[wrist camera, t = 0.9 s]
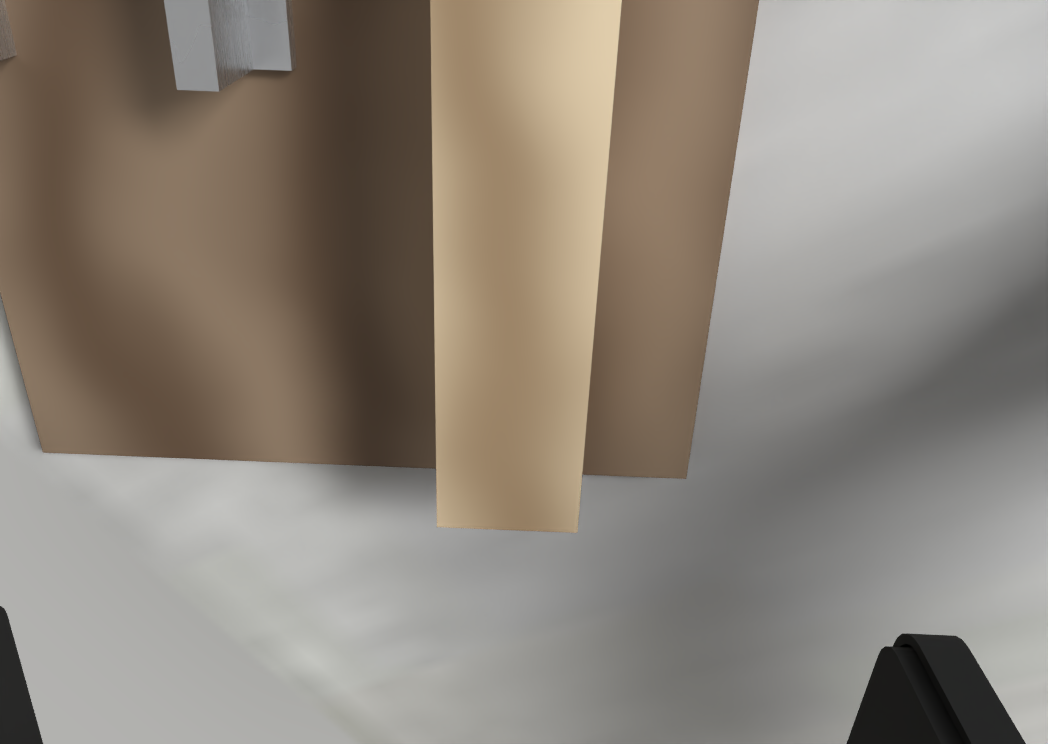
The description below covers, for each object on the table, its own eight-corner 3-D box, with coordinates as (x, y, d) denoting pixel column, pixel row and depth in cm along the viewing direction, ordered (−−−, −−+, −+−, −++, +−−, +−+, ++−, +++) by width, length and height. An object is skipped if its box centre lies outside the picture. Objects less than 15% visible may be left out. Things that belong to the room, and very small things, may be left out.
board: (800, -369, 21) (817, -386, 19) (680, 454, 32) (685, 478, 30) (-146, -409, 21) (-193, -429, 19) (63, 428, 32) (42, 452, 30)
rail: (619, -203, 21) (640, -226, 17) (572, 436, 30) (577, 532, 25) (451, -210, 21) (427, -235, 17) (452, 431, 30) (436, 526, 25)
